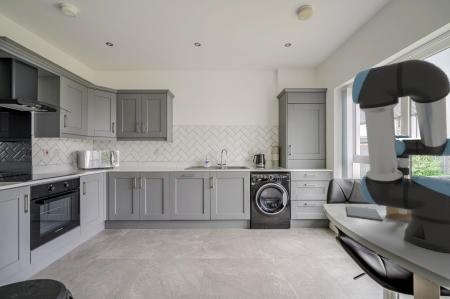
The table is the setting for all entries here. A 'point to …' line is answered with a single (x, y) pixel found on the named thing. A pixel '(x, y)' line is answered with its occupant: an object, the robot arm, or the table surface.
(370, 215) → the mat
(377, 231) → the table surface
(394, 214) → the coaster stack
